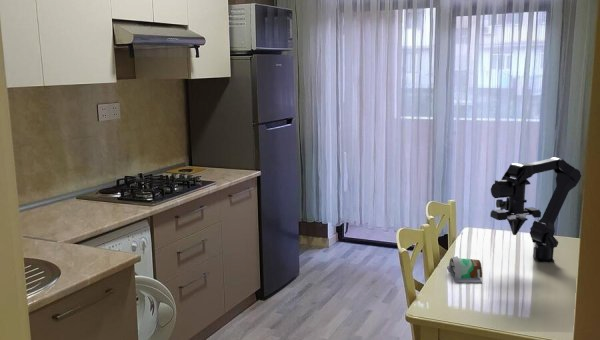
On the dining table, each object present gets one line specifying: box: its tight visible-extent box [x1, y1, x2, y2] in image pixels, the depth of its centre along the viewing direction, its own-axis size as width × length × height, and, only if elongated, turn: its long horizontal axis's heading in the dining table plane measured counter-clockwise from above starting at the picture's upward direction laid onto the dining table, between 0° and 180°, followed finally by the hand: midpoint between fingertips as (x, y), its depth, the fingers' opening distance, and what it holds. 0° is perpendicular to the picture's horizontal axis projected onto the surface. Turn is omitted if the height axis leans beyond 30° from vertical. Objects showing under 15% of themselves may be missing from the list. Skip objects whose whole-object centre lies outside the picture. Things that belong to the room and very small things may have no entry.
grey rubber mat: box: [446, 265, 483, 284], centre depth 213 cm, size 10×16×1 cm, turn 176°
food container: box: [448, 256, 483, 279], centre depth 213 cm, size 12×6×10 cm
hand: (514, 234), depth 222 cm, fingers closed
